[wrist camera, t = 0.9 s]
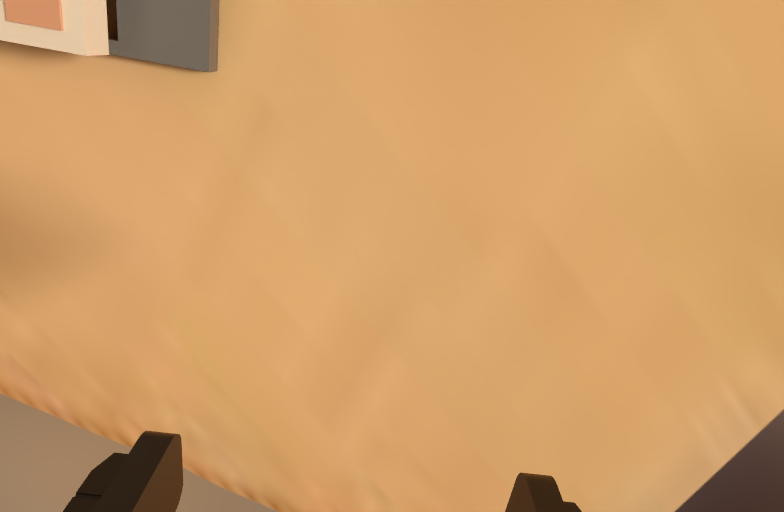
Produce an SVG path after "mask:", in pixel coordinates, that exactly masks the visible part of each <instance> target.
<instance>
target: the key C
mask: <svg viewBox="0 0 784 512" xmlns="http://www.w3.org/2000/svg"><path fill="white" fill-rule="evenodd" d="M0 40H2V41H7V42H13V43H18V44H24V45H29V46H35V47H40V48H46V49H51V50H57V51H63V52H68V53H74V54H79V55H85V56H93V55H109V44H108V26H107V8H106V0H0Z"/></svg>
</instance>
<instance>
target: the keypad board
mask: <svg viewBox="0 0 784 512" xmlns="http://www.w3.org/2000/svg"><path fill="white" fill-rule="evenodd" d="M116 7H117V28H118V39H114V38H109V37H108V44H109V54H111V55H117V56H122V57H128V58H133V59H139V60H144V61H150V62H155V63H161V64H166V65H171V66H177V67H182V68H188V69H193V70H199V71H204V72H214V71H217V61H218V26H219V0H116Z"/></svg>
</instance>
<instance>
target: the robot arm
mask: <svg viewBox="0 0 784 512" xmlns="http://www.w3.org/2000/svg"><path fill="white" fill-rule="evenodd" d="M182 486H183V468H182V445H181V436H180V435H179V434H171V433H162V432H153V431H145V432H144V433H142V435H141V436H140V437H139V439H138V440H137V442H136V443H135V445H134V446H133V448H132V450H131V451H130V453H129V454H122V453H113V454H112V455H111V456H110V457H108V458H107V459H106V460H105V461H103V462H102V463H101V464H100V465H98V466H97V467H96V468H94V469H93V470H92V471H91V472H90V474H89V475H88V477H87V478H86V479H85V481H84V482H83V484H82V485H81V487H80V488H79V489H78V491H77V492H76V496H75V497H73V498H72V499H71V501H70V502H69V504H68V505H67V506H66V508H65V509H64V511H63V512H175V511H176V509H177V506H178V503H179V500H180V497H181V493H182ZM505 512H582V511H581V510H580V509H579V508H578V506H577V505H576V504H575V503H573V502H563V500H562V497H561V495H560V492H559V489H558V486H557V484H556V481H555V480H554V478H553V477H552V476H547V475H538V474H528V473H519V474H518V476H517V478H516V481H515V484H514V487H513V490H512V493H511V496H510V499H509V502H508V505H507V508H506V511H505Z"/></svg>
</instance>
